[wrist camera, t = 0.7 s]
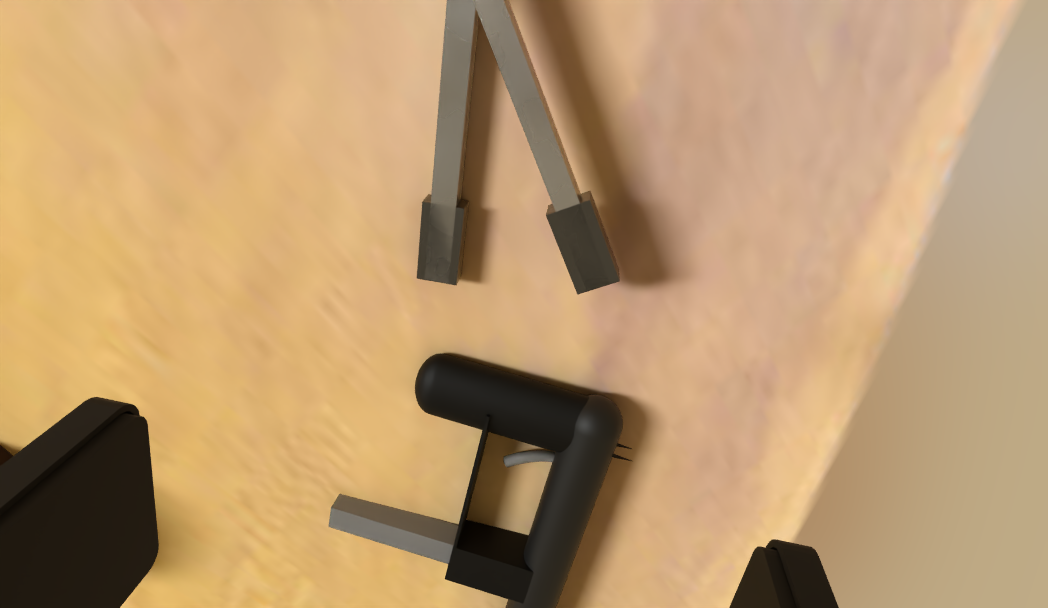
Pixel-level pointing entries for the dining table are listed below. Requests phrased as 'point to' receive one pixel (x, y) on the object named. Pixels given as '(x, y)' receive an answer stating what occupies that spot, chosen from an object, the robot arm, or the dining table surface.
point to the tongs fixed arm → (450, 151)
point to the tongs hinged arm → (550, 156)
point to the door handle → (518, 413)
